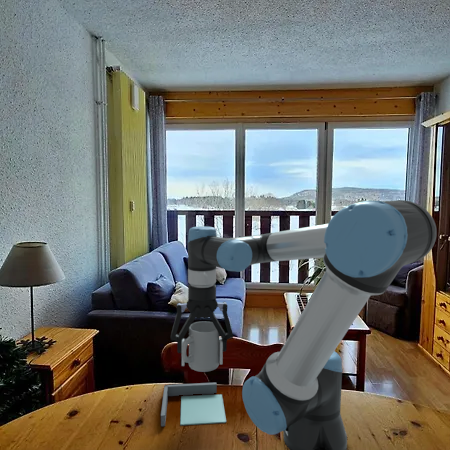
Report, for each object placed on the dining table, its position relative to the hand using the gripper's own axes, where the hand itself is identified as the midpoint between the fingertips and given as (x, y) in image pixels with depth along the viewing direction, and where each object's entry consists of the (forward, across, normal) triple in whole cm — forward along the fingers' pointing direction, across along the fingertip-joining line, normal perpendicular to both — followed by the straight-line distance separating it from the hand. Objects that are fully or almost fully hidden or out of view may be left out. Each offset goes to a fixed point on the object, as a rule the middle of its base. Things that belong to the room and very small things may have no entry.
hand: (202, 362), depth 102 cm
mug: (+1, +1, 0) cm, 1 cm away
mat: (+13, 0, 0) cm, 13 cm away
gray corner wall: (+13, +3, -1) cm, 14 cm away
